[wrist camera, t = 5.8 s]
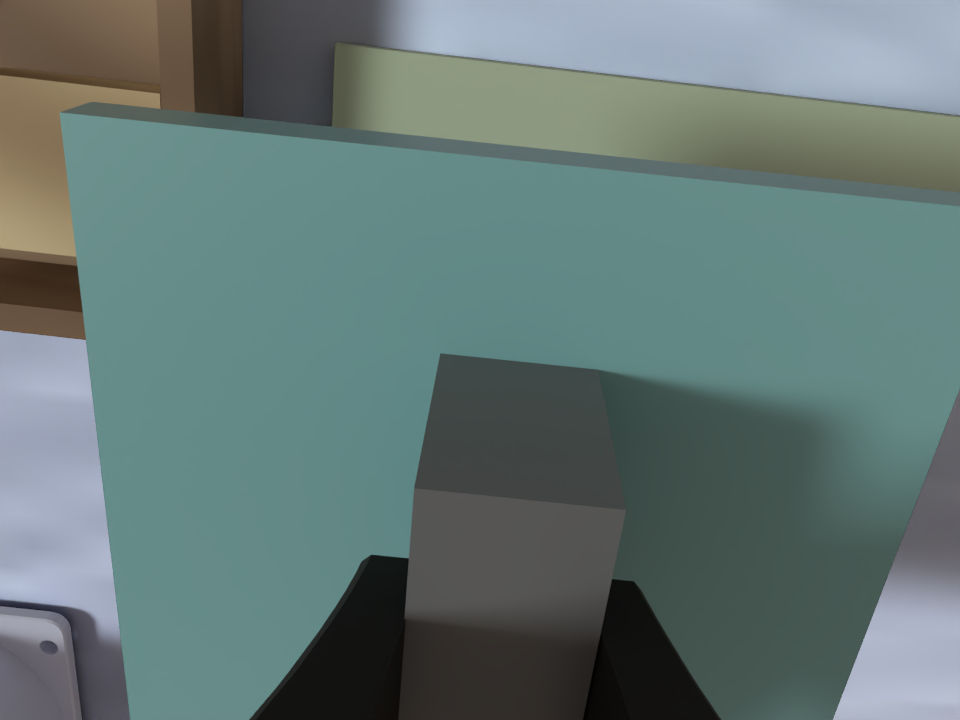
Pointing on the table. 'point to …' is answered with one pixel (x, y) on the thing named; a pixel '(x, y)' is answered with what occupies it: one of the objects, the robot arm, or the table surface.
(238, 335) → the lid
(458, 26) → the table surface
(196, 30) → the storage box
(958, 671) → the table surface
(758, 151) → the felt mat
